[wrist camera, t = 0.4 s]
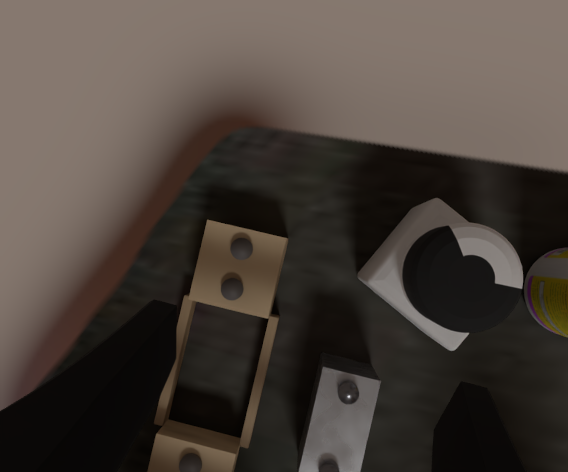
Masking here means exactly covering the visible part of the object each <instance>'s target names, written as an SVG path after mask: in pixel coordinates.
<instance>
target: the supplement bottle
mask: <svg viewBox="0 0 568 472" xmlns="http://www.w3.org/2000/svg"><path fill="white" fill-rule="evenodd" d="M524 298H525V302H526V305H527V308H528V310H529V312H530V313H531V315H532V316H533V317H534V319H535V320H536V321H537V322H538V323H539V324H540V325H542V326H543V327H544V328H546V329H548V330H549V331H552V332H554V333H556V334H559V335H562V336H565V337H568V248H560V249H556V250H553V251H550V252H548V253H546V254H544V255H543V256H541V257H540V258H539V259H538V260H537V261H536V262H535V263H534V264H533V265H532V266H531V268H530V270H529V271H528V273H527V276H526V279H525V283H524Z"/></svg>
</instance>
